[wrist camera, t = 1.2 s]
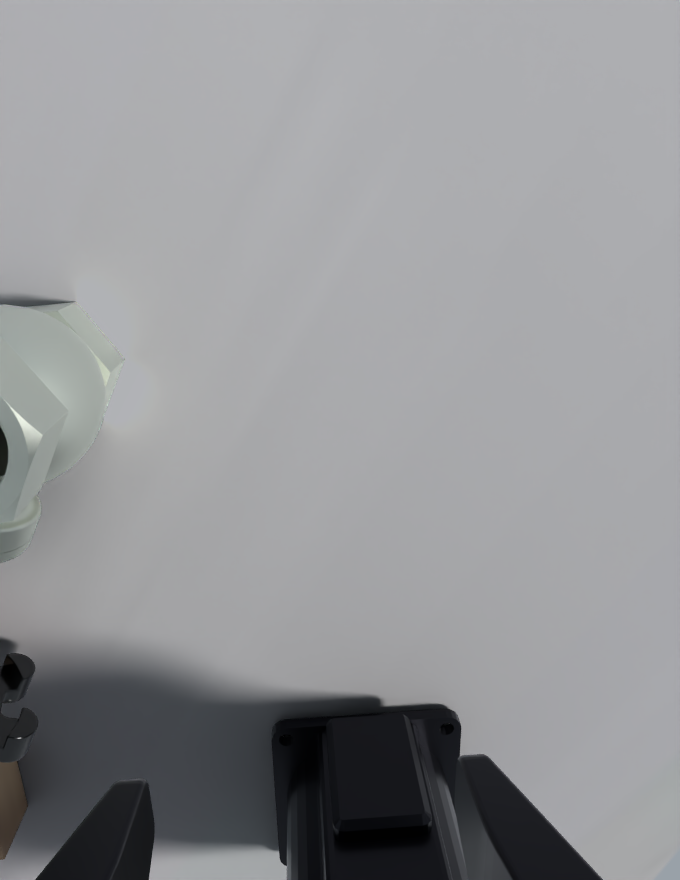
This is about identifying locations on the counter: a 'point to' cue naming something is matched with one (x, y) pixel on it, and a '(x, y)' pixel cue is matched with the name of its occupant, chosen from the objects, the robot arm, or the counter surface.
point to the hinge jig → (10, 804)
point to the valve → (43, 443)
